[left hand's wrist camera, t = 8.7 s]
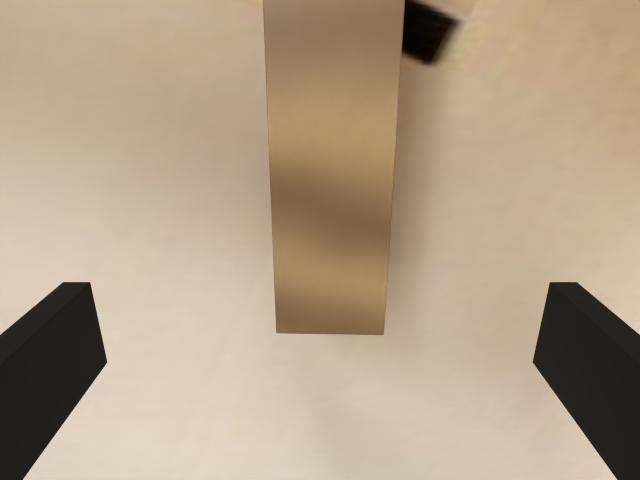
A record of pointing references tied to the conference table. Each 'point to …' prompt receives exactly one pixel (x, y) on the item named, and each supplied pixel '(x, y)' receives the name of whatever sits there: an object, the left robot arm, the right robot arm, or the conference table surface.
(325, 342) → the conference table surface
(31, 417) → the left robot arm
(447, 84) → the conference table surface
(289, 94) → the beam
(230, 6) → the conference table surface
